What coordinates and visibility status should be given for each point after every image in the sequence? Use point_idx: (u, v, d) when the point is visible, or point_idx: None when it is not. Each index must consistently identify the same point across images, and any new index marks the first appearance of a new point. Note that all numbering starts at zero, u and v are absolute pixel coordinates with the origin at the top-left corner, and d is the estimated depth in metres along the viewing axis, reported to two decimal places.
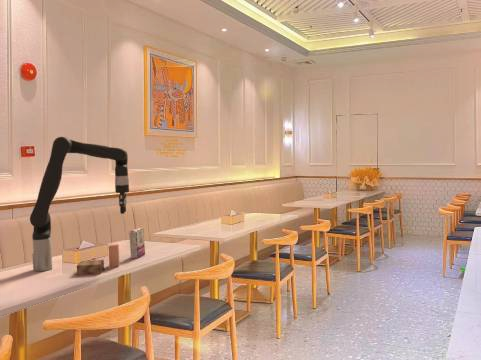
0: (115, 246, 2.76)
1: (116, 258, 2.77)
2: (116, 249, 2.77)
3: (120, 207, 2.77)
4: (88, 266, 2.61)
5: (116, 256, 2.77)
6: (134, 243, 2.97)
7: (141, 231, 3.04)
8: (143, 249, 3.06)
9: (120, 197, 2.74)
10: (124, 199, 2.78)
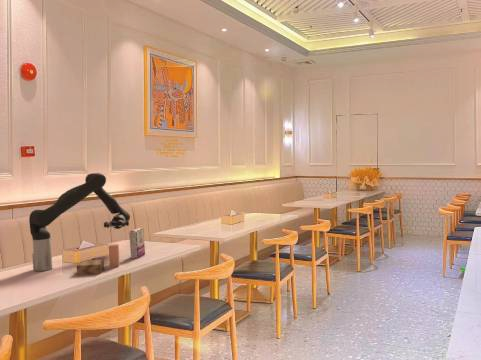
0: (115, 246, 2.76)
1: (116, 258, 2.77)
2: (116, 249, 2.77)
3: (123, 222, 2.93)
4: (88, 266, 2.61)
5: (116, 256, 2.77)
6: (134, 243, 2.97)
7: (141, 231, 3.04)
8: (143, 249, 3.06)
9: (128, 221, 2.99)
10: (122, 225, 2.97)
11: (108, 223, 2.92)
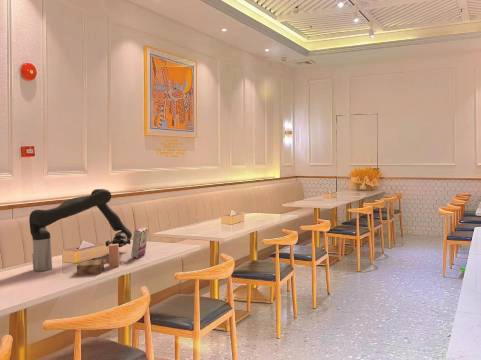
0: (115, 246, 2.76)
1: (116, 258, 2.77)
2: (116, 249, 2.77)
3: (125, 241, 2.94)
4: (88, 266, 2.61)
5: (116, 256, 2.77)
6: (137, 243, 2.97)
7: (146, 231, 3.04)
8: (144, 249, 3.06)
9: None
10: (123, 243, 2.98)
11: (110, 242, 2.93)
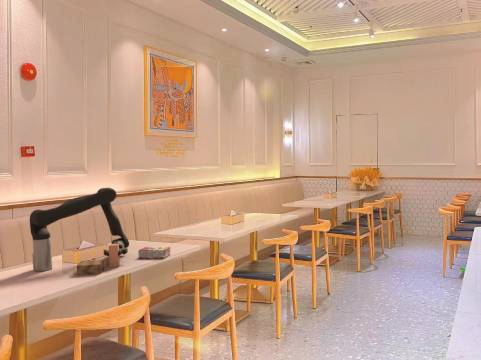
0: (115, 246, 2.76)
1: (116, 258, 2.77)
2: (116, 249, 2.77)
3: (119, 251, 2.80)
4: (88, 266, 2.61)
5: (116, 256, 2.77)
6: (152, 255, 2.96)
7: None
8: None
9: (127, 249, 2.86)
10: None
11: None
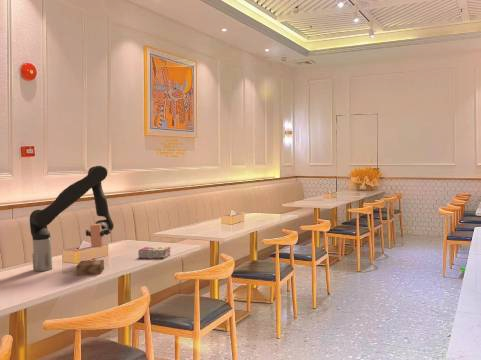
0: (97, 226, 2.67)
1: (98, 238, 2.68)
2: (98, 229, 2.67)
3: (102, 231, 2.71)
4: (88, 266, 2.61)
5: (98, 236, 2.68)
6: (152, 255, 2.96)
7: None
8: None
9: (110, 230, 2.77)
10: None
11: None
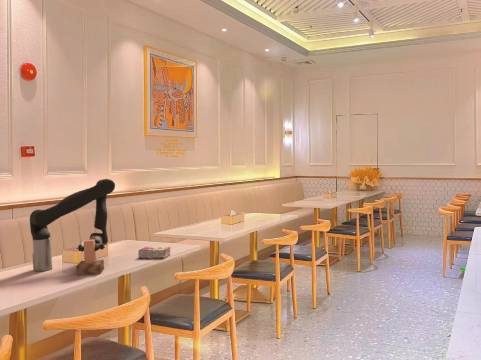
0: (91, 242, 2.64)
1: (92, 254, 2.64)
2: (92, 245, 2.64)
3: (97, 246, 2.68)
4: (88, 266, 2.61)
5: (92, 252, 2.64)
6: (152, 255, 2.96)
7: None
8: None
9: (104, 244, 2.74)
10: None
11: (83, 246, 2.66)
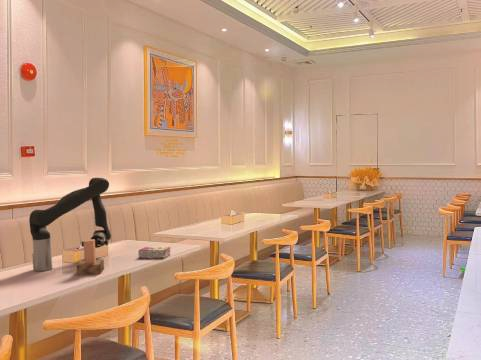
0: (91, 242, 2.64)
1: (92, 254, 2.64)
2: (92, 245, 2.64)
3: (102, 241, 2.81)
4: (88, 266, 2.61)
5: (92, 252, 2.64)
6: (152, 255, 2.96)
7: None
8: None
9: (108, 240, 2.87)
10: None
11: None
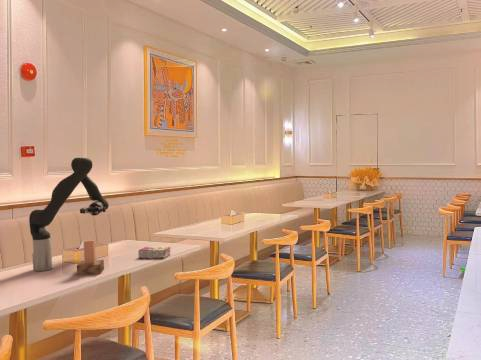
0: (91, 242, 2.64)
1: (92, 254, 2.64)
2: (92, 245, 2.64)
3: (100, 208, 2.91)
4: (88, 266, 2.61)
5: (92, 252, 2.64)
6: (152, 255, 2.96)
7: None
8: None
9: (105, 208, 2.97)
10: None
11: (84, 209, 2.89)
